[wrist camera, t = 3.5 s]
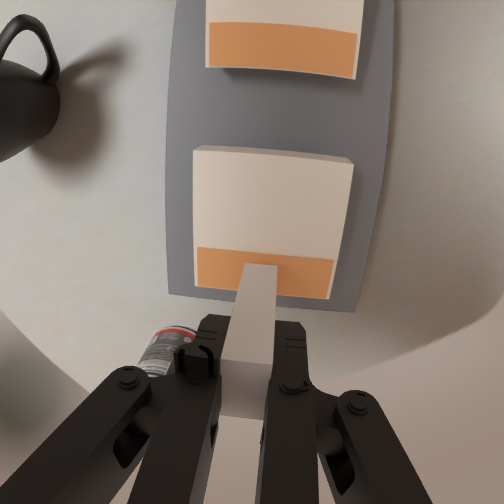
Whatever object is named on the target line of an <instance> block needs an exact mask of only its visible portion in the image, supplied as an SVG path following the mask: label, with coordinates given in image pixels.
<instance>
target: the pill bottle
mask: <svg viewBox="0 0 504 504" xmlns="http://www.w3.org/2000/svg"><path fill="white" fill-rule="evenodd" d="M195 335H196V333H194V332H192V331H190V330H188V329H185V328H181V327H167V328H164V329H162V330H160V331H158V332H157V333H156V334H155V335H154V337H153V338H152V340H151V342H150V344H149V345H148V347H147V349H146V351H145V352H144V354H143V356H142V358H141V360H140V361H139V363H138V365H137V367H139V368H141V369H143V370H144V371H146V373H147V374H148V376H149V377H157V376H167V375H171V374H173V373H175V364H174V355H173V352H174V351H175V350H176V348H177V347H179V346H181V345H183V344H185V343H189V342H193V340H194V338H195Z"/></svg>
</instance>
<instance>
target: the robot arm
mask: <svg viewBox="0 0 504 504" xmlns="http://www.w3.org/2000/svg"><path fill="white" fill-rule="evenodd" d="M276 288H277V266H274V265H264V264H253V263H245V264H244V268H243V272H242V276H241V280H240V284H239V288H238V292H237V295H236V299H235V303H234V307H233V311H232V315H231V316H222V315H214V314H208V315H207V316H206V317H205V318H204V319H202V320H201V322H200V325H199V327H198V331H197V332H196V335H195V338H194V340H193V342H189V343H185V344H183V345H181V346H179V347H177V348H176V350H175V351H174V352H173V355H174V364H175V373H173V374H171V375H167V376H157V377H149V376H148V374H147V373H146V371H144V370H143V369H141V368H139V367H135V366H124V367H121V368H117V369H116V370H115V371H113V372H112V373H111V374H110V375H109V376H108V377H107V378H106V379H105V380H104V381H103V382H102V383H101V384H100V385H99V386H98V387H97V388H96V389H95V390H94V391H93V392H92V393H91V394H90V395H89V396H88V397H87V398H86V399H85V400H84V401H83V402H82V403H81V404H80V405H79V406H78V407H77V408H76V409H75V410H74V411H73V412H72V413H71V414H70V415H69V416H68V418H66V419H65V421H64V422H62V423H61V425H60V426H59V427H58V428H57V429H56V430H55V431H54V432H53V433H52V434H51V435H50V436H49V437H48V438H47V439H46V440H45V441H44V442H43V443H42V444H41V445H40V446H39V447H38V448H37V449H36V451H34V452H33V453H32V454H31V455H30V457H29V458H28V459H27V460H26V461H25V462H24V463H23V464H22V465H21V466H20V467H19V468H18V469H17V470H16V471H15V472H14V473H13V475H11V476H10V478H8V480H7V481H6V482H5V483H4V484H3V485H2V486H1V487H0V504H109V503H110V502H111V500H112V499H113V498H114V496H115V495H116V494H117V492H118V491H119V490H120V488H121V487H122V486H123V484H124V483H125V482H126V480H127V479H128V477H129V476H130V475H131V473H132V472H133V471H134V469H135V468H136V467H137V465H138V464H139V462H140V461H141V460H142V458H143V457H144V458H143V460H142V463H141V466H140V469H139V472H138V474H137V477H136V480H135V483H134V486H133V488H132V491H131V494H130V497H129V500H128V503H127V504H203V500H204V495H205V491H206V486H207V481H208V476H209V471H210V466H211V461H212V457H213V452H214V446H215V442H216V437H217V432H218V418H219V413H220V415H224V416H232V417H240V418H249V419H259V420H264V422H263V429H262V434H261V441H260V444H261V447H260V457H259V468H258V477H257V487H256V496H255V504H319V489H318V459H317V453H318V455H319V458H320V461H321V464H322V466H323V469H324V472H325V475H326V478H327V481H328V483H329V486H330V489H331V492H332V495H333V498H334V500H335V503H336V504H433V503H432V501H431V499H430V498H429V496H428V494H427V492H426V490H425V488H424V486H423V484H422V482H421V480H420V478H419V476H418V475H417V473H416V471H415V469H414V467H413V465H412V463H411V461H410V460H409V458H408V456H407V454H406V452H405V450H404V449H403V447H402V445H401V443H400V441H399V439H398V438H397V436H396V434H395V432H394V430H393V429H392V427H391V425H390V423H389V421H388V419H387V418H386V416H385V414H384V412H383V410H382V409H381V407H380V405H379V403H378V402H377V401H376V399H375V398H374V397H373V396H372V395H370V394H368V393H367V392H364V391H360V390H351V391H347V392H344V393H343V394H342V395H341V396H340V397H337V396H333V395H330V394H327V393H324V392H321V391H320V390H318V389H317V388H316V387H315V386H314V385H313V384H312V382H311V381H310V379H309V372H308V358H307V344H306V332H305V329H304V328H303V327H302V325H301V324H300V322H290V321H279V320H275V310H276Z"/></svg>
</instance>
